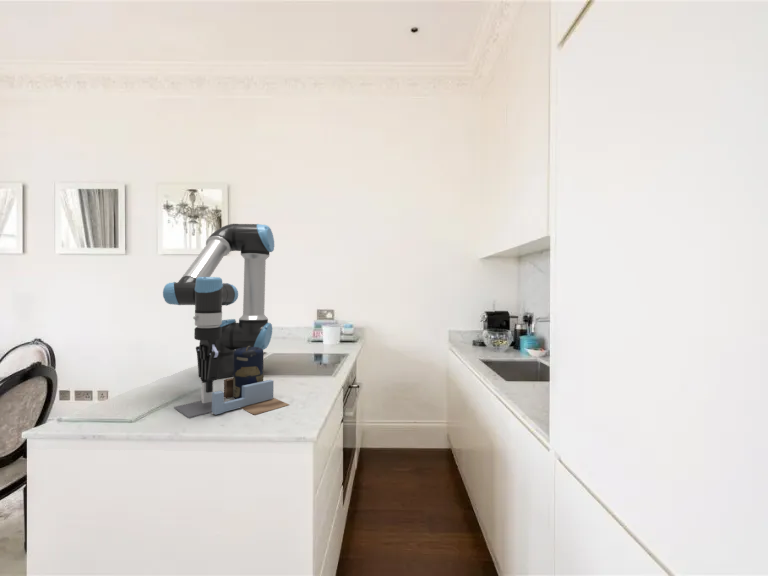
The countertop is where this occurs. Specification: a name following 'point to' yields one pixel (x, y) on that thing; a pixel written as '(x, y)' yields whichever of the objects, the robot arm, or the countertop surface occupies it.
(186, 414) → the mat
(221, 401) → the tie jaw
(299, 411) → the countertop surface
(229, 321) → the robot arm
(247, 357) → the canister
